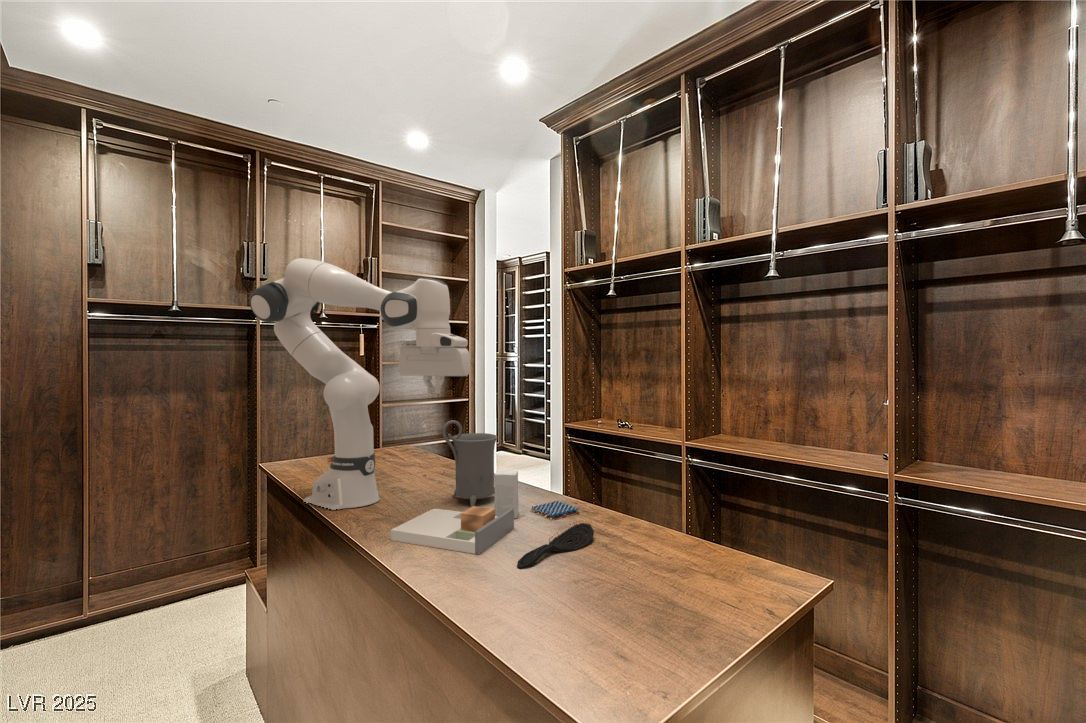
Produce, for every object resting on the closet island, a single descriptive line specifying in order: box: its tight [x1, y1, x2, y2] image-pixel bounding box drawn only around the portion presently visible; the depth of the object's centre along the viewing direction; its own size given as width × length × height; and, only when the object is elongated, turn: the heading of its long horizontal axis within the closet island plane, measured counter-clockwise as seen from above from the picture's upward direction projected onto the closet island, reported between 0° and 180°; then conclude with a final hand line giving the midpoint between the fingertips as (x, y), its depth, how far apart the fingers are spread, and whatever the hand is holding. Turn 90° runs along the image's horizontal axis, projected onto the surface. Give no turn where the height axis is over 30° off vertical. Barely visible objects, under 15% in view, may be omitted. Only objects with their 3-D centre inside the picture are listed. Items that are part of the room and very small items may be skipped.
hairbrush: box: [516, 519, 595, 570], centre depth 115 cm, size 8×4×25 cm
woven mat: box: [530, 500, 581, 521], centre depth 142 cm, size 10×11×2 cm
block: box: [461, 506, 495, 532], centre depth 123 cm, size 6×6×4 cm
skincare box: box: [494, 470, 520, 520], centre depth 139 cm, size 6×4×12 cm
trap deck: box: [390, 508, 515, 555], centre depth 125 cm, size 24×18×5 cm
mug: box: [441, 420, 498, 508], centre depth 153 cm, size 19×15×25 cm
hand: (433, 393), depth 133 cm, fingers closed
